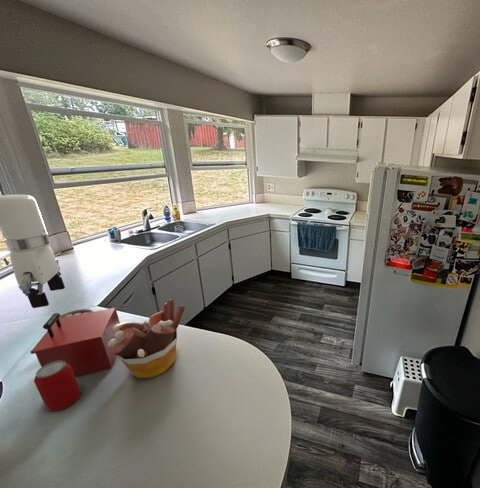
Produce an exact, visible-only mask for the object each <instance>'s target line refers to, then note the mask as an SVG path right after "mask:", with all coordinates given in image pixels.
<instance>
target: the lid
mask: <svg viewBox="0 0 480 488" xmlns="http://www.w3.org/2000/svg"><path fill="white" fill-rule="evenodd" d="M115 310H116V311H117V308H116V307H111V308H106V309H100V310H96V311H94V310H93V312H89V313H83V314H78V315H73V316H67V317H62V318H59V317H60V315H61V313H59V312H54V313H53V314H52V315H51V316H50V317H49V318H48V319H47V321H46V322H45V323H44V324H43V325H42V328H43V329H44V330H46V332H45V333H44V335H42V337H41V338H40V339H39V341H37V343H36V345H34V347H32V349H31V351H30V354H31V355H34V354H35V353H39V352H43V351H48V350H52V349H57V348H61V347H66V346H71V345H75V344H80V343H84V342H89V341H93V340H98V339H102V337H103V335H104V333H105V331H106V329H107V327H108V324H109V322H110V320H111V318H112V316H113V314H114V312H115Z"/></svg>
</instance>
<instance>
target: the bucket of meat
mask: <svg viewBox="0 0 480 488" xmlns="http://www.w3.org/2000/svg"><path fill="white" fill-rule="evenodd" d="M162 306H163V307H162V310H161V311H158V312H155V313H154V314H152V315H151V316H149V318H148V320H143V321H141V323H140V322H135V321H125V322H120V323H119V324H116V325H114V326H113V327H112V330H113V332H114V333H115V338H114V339H112V340H110V341H109V342H108V346H109V347H111V352H112V353H113V354H115V355H116V357H118V358H119V359H120V361H122V363H123V365H124V366H125V367H126V368H127V370H128V371H129V372H130V373H131V374H132V375H133V376H135V377H136V378H138V379H151V378H154V377H156V376H159V375H161V374H164V373H165V372H166V371H167V370H168V369H169V368H170V367H171V366H172V365H173V364H174V363H175V361H176V353H177V343H178V342H177V341H178V327H179V326H180V323H181V320H182V317H183V314H184V312H185V310H186V309H185V306H184V305H180V306H178V307H177V310H176V312H175V300H173V298H172V299H171V298H170V299H168V300H167V302H165V303H164V304H163V305H162Z"/></svg>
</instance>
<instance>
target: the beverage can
mask: <svg viewBox="0 0 480 488" xmlns="http://www.w3.org/2000/svg"><path fill="white" fill-rule="evenodd" d="M33 382H34V385H35V387H36V389H37V391H38V394H39V395H40V397H41V400H42V401H43V404H44V405H45V408H46V409H47V410H48V411H50V412H56V411H60V410H63V409H65V408H67V407H69V406H71V405H72V404H74V403H76V401H77V400H78V399H79V397H80V396H81V393H82V391H81V388H80V385H79V383H78V380H77V378H75V375H74V373H73V370H72V368H71V366H70V364H68V363H65V362H64V361H54V362H51V363H49V364H46V365H45V366H43V367H41V366H40V368H39V369H38V370H36V373H35V376H34V379H33Z"/></svg>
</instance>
